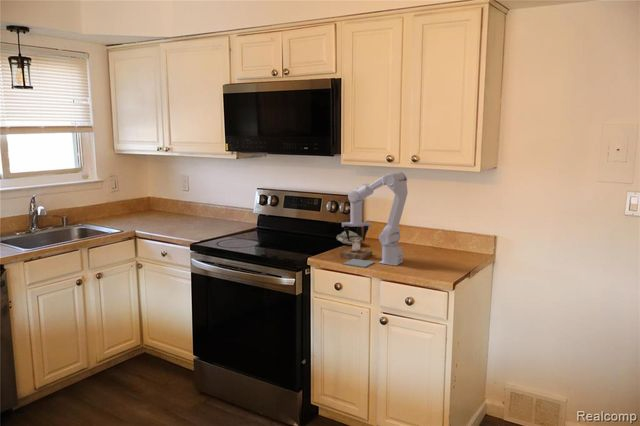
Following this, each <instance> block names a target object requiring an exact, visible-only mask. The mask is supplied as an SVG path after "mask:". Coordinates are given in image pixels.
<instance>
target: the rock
mask: <svg viewBox="0 0 640 426" xmlns="http://www.w3.org/2000/svg"><path fill="white" fill-rule="evenodd" d="M335 239H336V241H339V242H341V243H342V244H345V245H348V246H351V245H352V241H353V240H360V243H362V242H363V236H362V235H359V234H358V233H356V232H354V231H352V230H349V241H348V238H347V234H346V232H345V230H344V231H342V232H341V233H340V234H337V235H336V238H335Z"/></svg>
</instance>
